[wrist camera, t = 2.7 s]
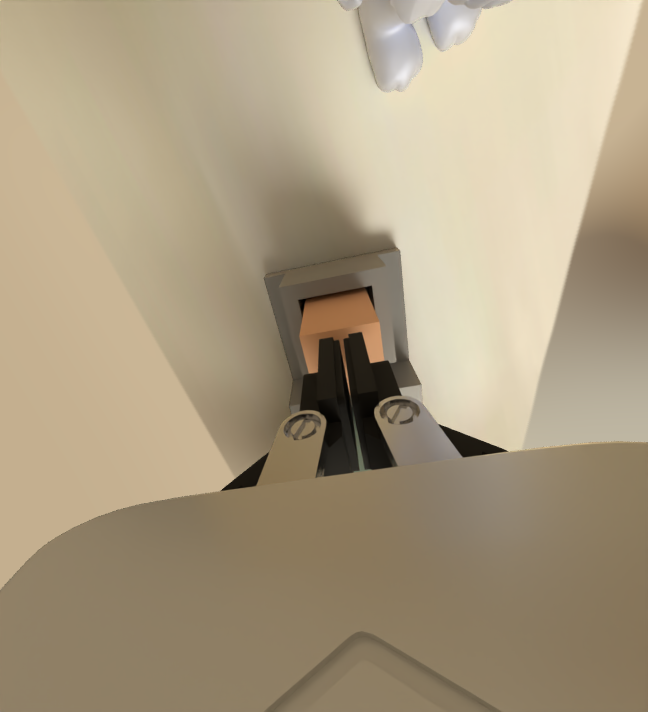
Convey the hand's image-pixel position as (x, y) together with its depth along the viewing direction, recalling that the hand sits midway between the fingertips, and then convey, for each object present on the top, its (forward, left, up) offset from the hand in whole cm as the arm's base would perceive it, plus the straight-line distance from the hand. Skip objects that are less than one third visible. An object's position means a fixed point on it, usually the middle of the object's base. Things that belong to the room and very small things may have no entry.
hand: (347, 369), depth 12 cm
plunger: (0, 0, -6) cm, 6 cm away
